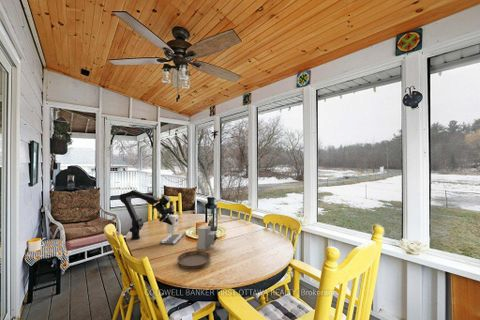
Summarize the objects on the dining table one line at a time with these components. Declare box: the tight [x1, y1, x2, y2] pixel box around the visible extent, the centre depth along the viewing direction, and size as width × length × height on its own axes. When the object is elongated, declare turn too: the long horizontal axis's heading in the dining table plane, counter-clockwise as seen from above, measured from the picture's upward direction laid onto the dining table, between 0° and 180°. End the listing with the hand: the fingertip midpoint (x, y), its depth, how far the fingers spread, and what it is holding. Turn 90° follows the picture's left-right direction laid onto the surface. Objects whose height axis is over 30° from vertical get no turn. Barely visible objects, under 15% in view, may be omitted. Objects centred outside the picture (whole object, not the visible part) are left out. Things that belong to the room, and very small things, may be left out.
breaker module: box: [166, 214, 179, 234], centre depth 175 cm, size 7×6×13 cm
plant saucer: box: [176, 250, 211, 269], centre depth 136 cm, size 21×21×3 cm
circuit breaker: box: [196, 224, 218, 251], centre depth 160 cm, size 8×14×15 cm, turn 78°
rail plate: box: [159, 233, 185, 246], centre depth 175 cm, size 12×20×2 cm, turn 175°
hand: (174, 223), depth 174 cm, fingers closed on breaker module, 7 cm apart
